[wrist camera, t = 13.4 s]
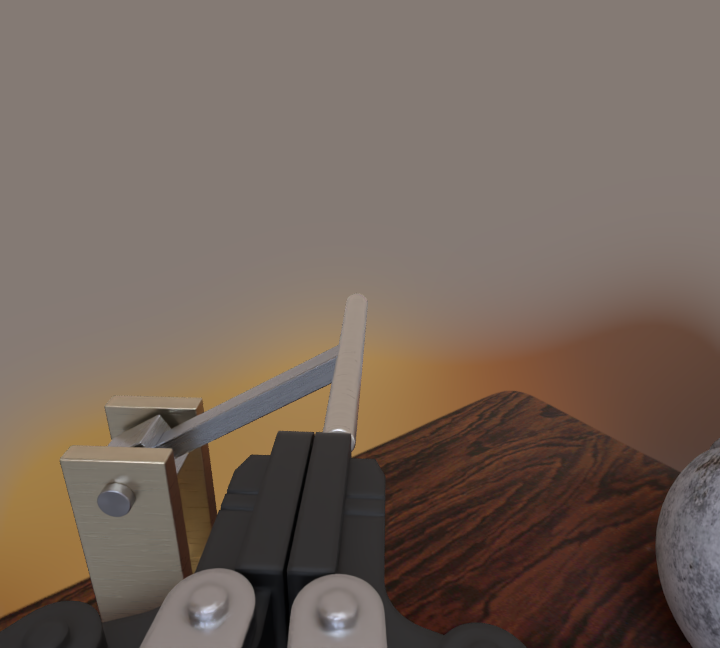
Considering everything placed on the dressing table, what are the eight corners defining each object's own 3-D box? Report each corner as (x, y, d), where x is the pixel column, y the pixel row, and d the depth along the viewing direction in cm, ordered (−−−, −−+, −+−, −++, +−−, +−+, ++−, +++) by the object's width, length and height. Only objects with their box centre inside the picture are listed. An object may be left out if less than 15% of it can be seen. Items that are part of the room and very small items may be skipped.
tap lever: (377, 317, 29) (354, 278, 28) (371, 465, 18) (333, 408, 17) (179, 417, 32) (153, 385, 31) (69, 596, 21) (24, 553, 20)
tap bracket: (263, 618, 34) (241, 393, 27) (239, 723, 28) (205, 472, 22) (133, 612, 34) (82, 388, 28) (84, 715, 29) (7, 465, 22)
